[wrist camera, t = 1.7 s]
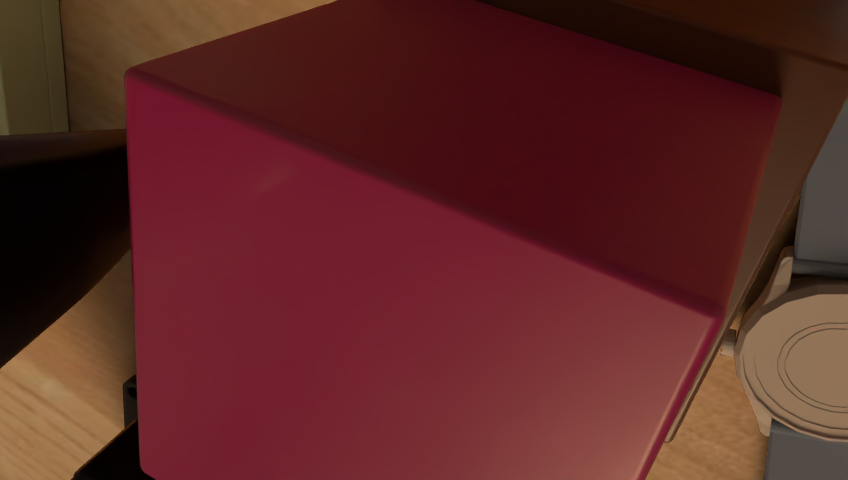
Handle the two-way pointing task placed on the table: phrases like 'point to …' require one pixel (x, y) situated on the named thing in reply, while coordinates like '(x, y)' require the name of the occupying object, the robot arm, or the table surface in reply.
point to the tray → (31, 68)
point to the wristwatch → (804, 331)
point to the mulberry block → (428, 246)
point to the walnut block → (742, 63)
